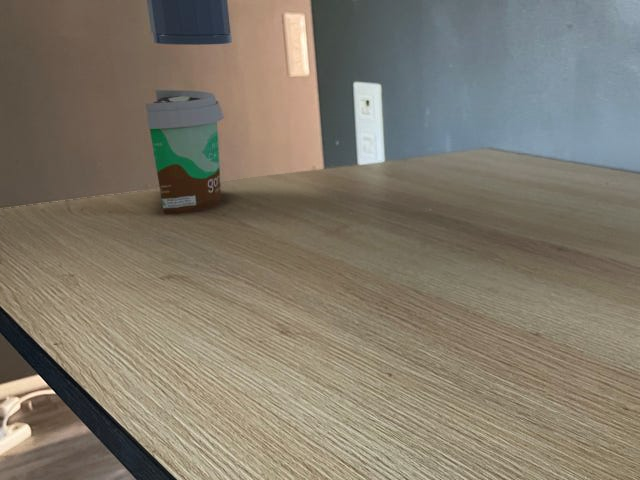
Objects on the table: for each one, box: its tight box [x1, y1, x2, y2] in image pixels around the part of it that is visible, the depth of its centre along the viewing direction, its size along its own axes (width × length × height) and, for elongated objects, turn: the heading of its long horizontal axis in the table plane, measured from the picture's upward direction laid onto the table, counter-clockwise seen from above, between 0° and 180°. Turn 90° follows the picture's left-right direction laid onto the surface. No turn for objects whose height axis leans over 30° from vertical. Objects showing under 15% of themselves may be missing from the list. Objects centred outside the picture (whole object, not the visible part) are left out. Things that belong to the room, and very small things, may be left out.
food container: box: [145, 89, 225, 216], centre depth 75 cm, size 12×6×10 cm, turn 16°
